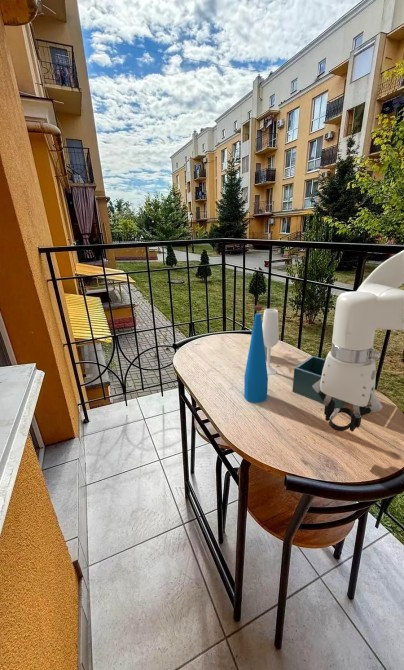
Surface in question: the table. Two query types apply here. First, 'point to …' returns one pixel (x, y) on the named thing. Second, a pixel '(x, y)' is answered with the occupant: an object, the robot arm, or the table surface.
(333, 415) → the watch
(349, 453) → the table surface
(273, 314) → the champagne flute
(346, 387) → the robot arm
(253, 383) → the bottle
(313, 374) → the tin box
